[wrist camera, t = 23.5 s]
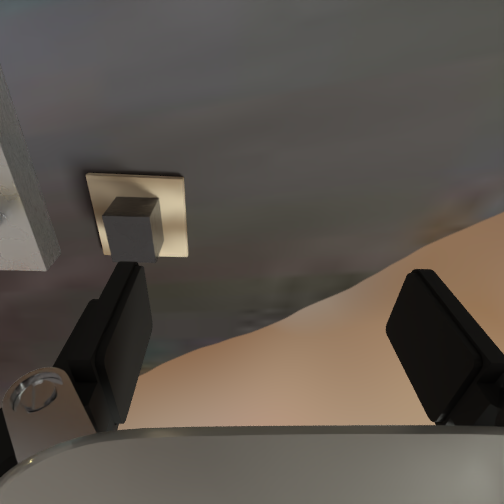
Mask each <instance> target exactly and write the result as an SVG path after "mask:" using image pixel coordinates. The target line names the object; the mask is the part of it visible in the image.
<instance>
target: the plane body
mask: <svg viewBox="0 0 504 504" xmlns="http://www.w3.org/2000/svg"><path fill="white" fill-rule="evenodd" d="M60 254H61V251H60V247H59V244H58V241H57V238H56V235H55V232H54V229H53V226H52V223H51V220H50V217H49V213H48V210H47V207H46V204H45V201H44V198H43V195H42V192H41V189H40V186H39V182H38V179H37V176H36V173H35V170H34V167H33V164H32V161H31V158H30V155H29V151H28V148H27V145H26V142H25V139H24V136H23V133H22V130H21V127H20V124H19V120H18V117H17V114H16V111H15V108H14V105H13V102H12V99H11V96H10V93H9V89H8V86H7V83H6V80H5V77H4V74H3V71H2V68H1V65H0V270H25V271H47V270H48V269H49V268H50V266H51V265H52V264H53V263H54V262H55V260H56V259H57V258H58V257H59V255H60Z"/></svg>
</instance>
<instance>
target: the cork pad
mask: <svg viewBox="0 0 504 504" xmlns="http://www.w3.org/2000/svg"><path fill="white" fill-rule="evenodd" d="M86 179H87V184H88V188H89V192H90V196H91V201H92V205H93V209H94V213H95V218H96V222H97V226H98V230H99V235H100V239H101V243H102V247H103V252H104V255H111V253H110V248H109V244H108V240H107V236H106V231H105V227H104V223H103V219H102V215H103V214H104V212H105V211H106V210H107V208H108V207H109V206H110V205H111V203H112V202H113V201H114V199H115V198H116V197H149V198H159V202H160V210H161V218H162V227H163V235H164V242H163V245H162V248H161V250H160V253H159V256H169V257H188V241H187V224H186V207H185V190H184V177H173V176H150V175H127V174H104V173H87V174H86Z"/></svg>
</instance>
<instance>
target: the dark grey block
mask: <svg viewBox="0 0 504 504" xmlns="http://www.w3.org/2000/svg"><path fill="white" fill-rule="evenodd" d="M102 219H103V223H104V227H105V231H106V236H107V240H108V244H109V248H110V253H111V257H112V261H113V262H119V261H132V262H151V263H156V262H157V259H158V256H159V253H160V250H161V248H162V245H163V242H164V235H163V227H162V218H161V210H160V202H159V198H149V197H116V198H115V199H114V201H113V202H112V203H111V205H110V206H109V207H108V208H107V210H106V211H105V212H104V214H103V215H102Z"/></svg>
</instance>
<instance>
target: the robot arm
mask: <svg viewBox="0 0 504 504" xmlns="http://www.w3.org/2000/svg"><path fill="white" fill-rule="evenodd" d="M151 332H152V316H151V310H150V304H149V297H148V291H147V284H146V278H145V272H144V267H143V266H139V265H138V263H137V262H132V261H119V262H118V264H117V265H116V267H115V269H114V271H113V273H112V275H111V277H110V279H109V281H108V282H107V284H106V286H105V288H104V290H103V292H102V294H101V296H100V298H99V299H92V300H91V301H90V302H89V303H88V305H87V306H86V308H85V310H84V312H83V314H82V315H81V317H80V319H79V321H78V322H77V324H76V326H75V328H74V330H73V331H72V333H71V335H70V337H69V339H68V340H67V342H66V344H65V346H64V347H63V349H62V351H61V353H60V355H59V356H58V358H57V360H56V362H55V363H54V365H53V367H45V368H39V369H37V370H34V371H31V372H29V373H27V374H26V375H24V376H22V377H21V378H19V379H18V380H17V381H16V382H15V383H14V384H12V385H11V387H10V388H9V389H8V391H7V392H6V393H5V396H4V398H3V401H2V408H1V409H0V504H504V354H503V353H502V352H501V351H500V349H499V348H498V347H497V346H496V345H495V344H494V342H493V341H492V340H491V339H490V337H489V336H488V335H487V334H486V333H485V332H484V330H483V329H482V328H481V327H480V326H479V324H478V323H477V322H476V321H475V320H474V318H473V317H472V316H471V315H470V314H469V312H467V310H466V309H465V308H464V306H463V305H462V304H461V303H460V302H459V300H458V299H457V298H456V297H455V296H454V295H453V293H452V292H451V291H450V290H449V289H448V287H447V286H446V285H445V284H444V283H443V281H442V280H441V279H440V278H439V277H438V275H437V274H436V273H435V272H434V271H433V270H430V269H415V270H413V271H412V272H411V273H409V274H408V275H407V276H406V279H405V281H404V283H403V286H402V289H401V291H400V293H399V296H398V298H397V301H396V303H395V305H394V308H393V310H392V312H391V315H390V318H389V320H388V322H387V325H386V333H387V336H388V338H389V340H390V342H391V344H392V346H393V348H394V350H395V352H396V354H397V356H398V358H399V360H400V362H401V364H402V366H403V368H404V370H405V372H406V374H407V376H408V378H409V380H410V382H411V384H412V386H413V388H414V390H415V392H416V394H417V396H418V398H419V400H420V402H421V403H422V406H423V408H424V410H425V412H426V414H427V416H428V417H429V419H430V420H431V421H432V422H435V424H436V425H416V426H415V425H381V426H380V425H364V426H363V425H361V426H360V425H359V426H358V425H355V426H354V425H352V426H233V427H232V426H231V427H230V426H228V427H173V428H141V429H127V430H117V428H118V425H119V424H123V423H124V422H125V421H126V418H127V414H128V411H129V407H130V404H131V401H132V397H133V394H134V390H135V387H136V383H137V380H138V377H139V373H140V370H141V366H142V363H143V359H144V356H145V353H146V349H147V346H148V342H149V339H150V335H151Z"/></svg>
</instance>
